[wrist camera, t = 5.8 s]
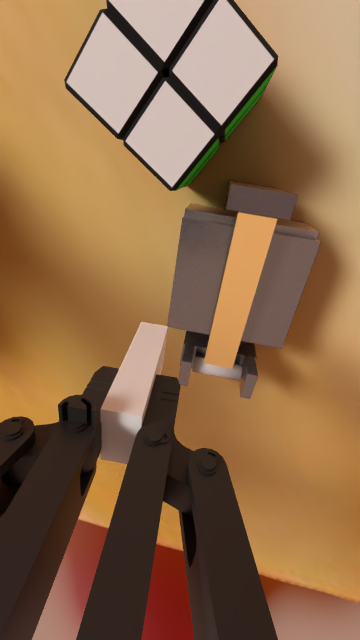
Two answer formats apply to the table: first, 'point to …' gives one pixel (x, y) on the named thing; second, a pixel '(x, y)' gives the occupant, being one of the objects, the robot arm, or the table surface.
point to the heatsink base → (209, 265)
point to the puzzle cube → (171, 79)
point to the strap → (236, 294)
